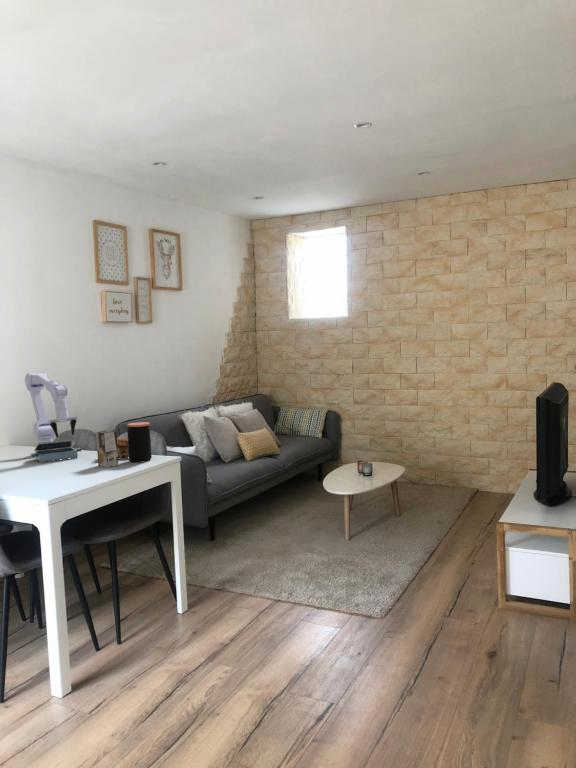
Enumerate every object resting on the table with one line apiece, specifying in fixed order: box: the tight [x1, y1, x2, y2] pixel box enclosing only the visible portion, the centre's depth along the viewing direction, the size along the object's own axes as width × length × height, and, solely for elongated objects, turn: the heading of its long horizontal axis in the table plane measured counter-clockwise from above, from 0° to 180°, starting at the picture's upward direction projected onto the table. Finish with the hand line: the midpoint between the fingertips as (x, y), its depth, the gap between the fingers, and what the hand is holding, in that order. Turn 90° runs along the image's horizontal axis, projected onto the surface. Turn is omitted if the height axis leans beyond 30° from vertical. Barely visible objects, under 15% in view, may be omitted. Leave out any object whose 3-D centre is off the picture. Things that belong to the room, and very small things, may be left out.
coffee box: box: [95, 429, 119, 468], centre depth 295 cm, size 9×6×16 cm
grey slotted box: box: [29, 446, 82, 463], centre depth 322 cm, size 14×24×4 cm, turn 120°
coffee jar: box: [126, 421, 153, 463], centre depth 304 cm, size 11×11×18 cm
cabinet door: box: [34, 438, 78, 452], centre depth 322 cm, size 15×19×2 cm
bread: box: [117, 436, 129, 459], centre depth 317 cm, size 19×11×10 cm, turn 107°
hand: (65, 436), depth 320 cm, fingers open, 7 cm apart
